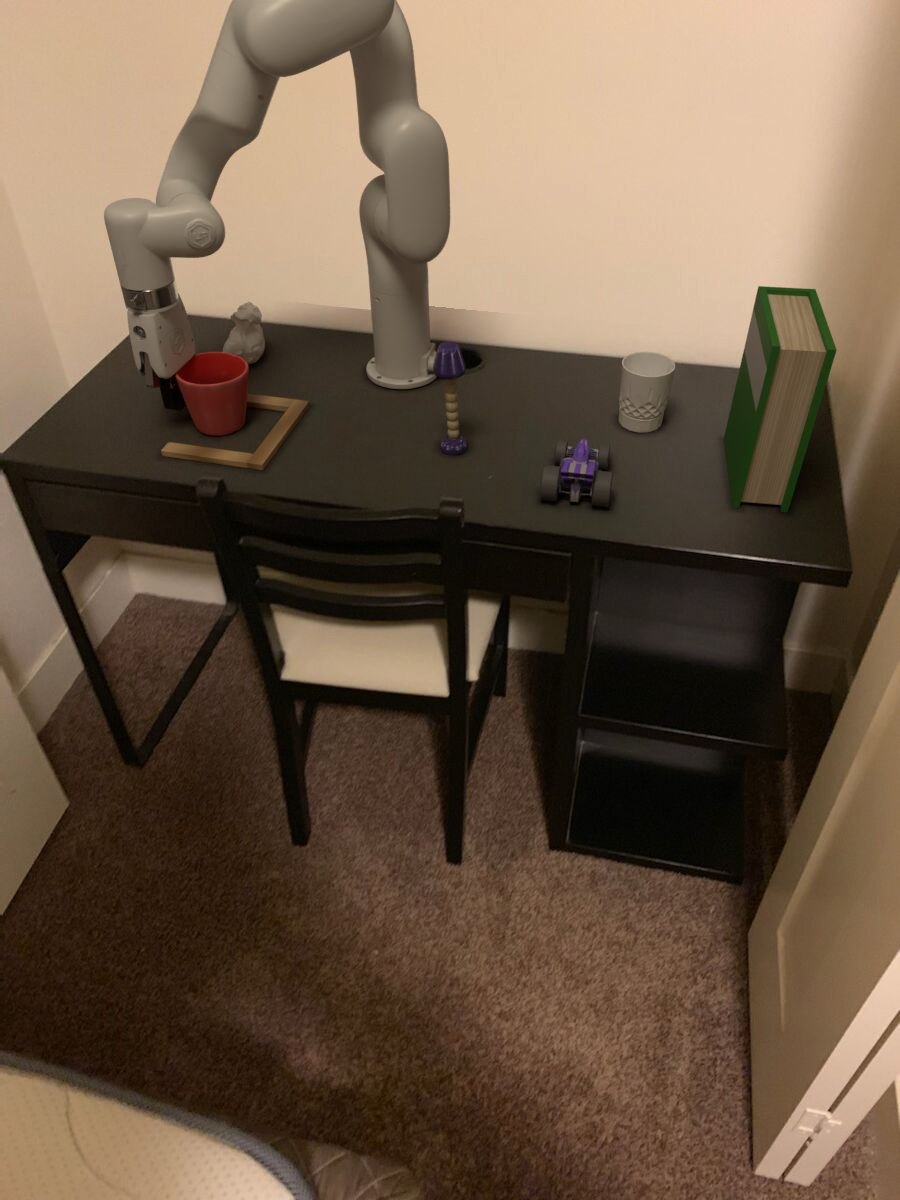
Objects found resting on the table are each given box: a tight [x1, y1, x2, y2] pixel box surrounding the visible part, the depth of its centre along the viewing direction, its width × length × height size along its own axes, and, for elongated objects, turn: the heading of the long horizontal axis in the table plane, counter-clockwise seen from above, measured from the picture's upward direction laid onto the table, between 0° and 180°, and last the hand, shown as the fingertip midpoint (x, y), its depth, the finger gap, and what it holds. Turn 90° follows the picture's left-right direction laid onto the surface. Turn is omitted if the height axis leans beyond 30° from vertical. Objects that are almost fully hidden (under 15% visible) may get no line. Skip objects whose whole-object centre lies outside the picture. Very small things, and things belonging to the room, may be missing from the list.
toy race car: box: [539, 438, 614, 508], centre depth 126 cm, size 10×15×6 cm, turn 168°
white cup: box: [618, 351, 676, 434], centre depth 137 cm, size 8×8×10 cm
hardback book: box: [723, 285, 838, 513], centre depth 121 cm, size 18×7×24 cm, turn 171°
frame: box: [160, 392, 311, 471], centre depth 140 cm, size 16×19×1 cm
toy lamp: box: [434, 341, 469, 456], centre depth 130 cm, size 5×5×17 cm
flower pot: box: [175, 351, 250, 437], centre depth 138 cm, size 11×11×10 cm
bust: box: [221, 301, 266, 365], centre depth 154 cm, size 12×8×11 cm
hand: (176, 407), depth 140 cm, fingers closed
